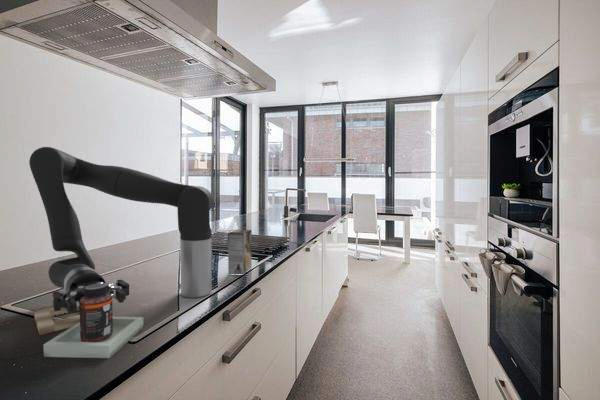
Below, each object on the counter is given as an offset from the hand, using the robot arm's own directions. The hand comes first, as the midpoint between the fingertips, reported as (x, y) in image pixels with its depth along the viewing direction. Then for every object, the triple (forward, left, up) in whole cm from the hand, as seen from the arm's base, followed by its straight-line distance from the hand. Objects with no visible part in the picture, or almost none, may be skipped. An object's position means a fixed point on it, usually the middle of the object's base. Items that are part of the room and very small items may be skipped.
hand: (99, 303), depth 66 cm
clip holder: (-12, -16, -9) cm, 22 cm away
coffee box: (-54, +19, -9) cm, 58 cm away
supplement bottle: (-1, -2, -8) cm, 9 cm away
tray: (-1, -1, -9) cm, 9 cm away
